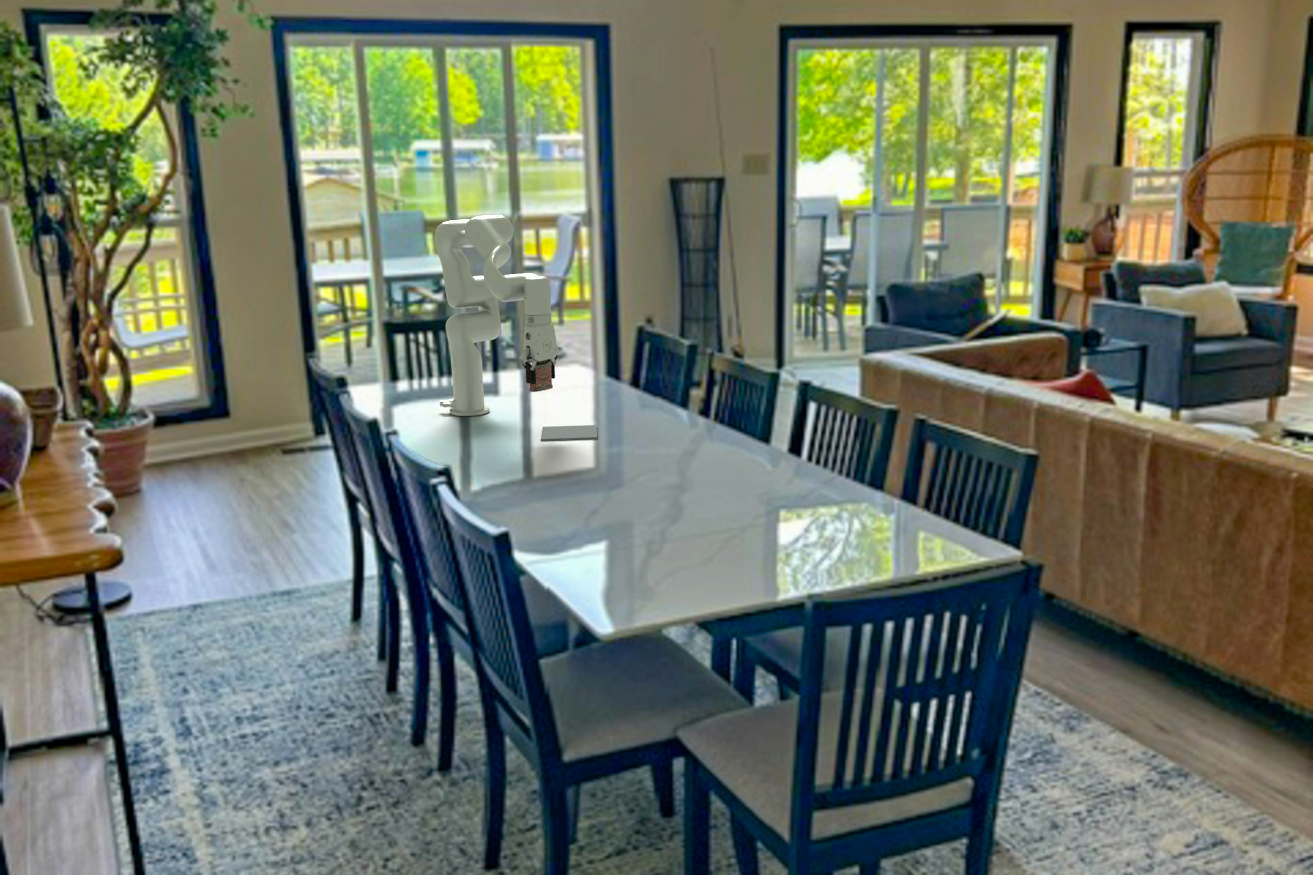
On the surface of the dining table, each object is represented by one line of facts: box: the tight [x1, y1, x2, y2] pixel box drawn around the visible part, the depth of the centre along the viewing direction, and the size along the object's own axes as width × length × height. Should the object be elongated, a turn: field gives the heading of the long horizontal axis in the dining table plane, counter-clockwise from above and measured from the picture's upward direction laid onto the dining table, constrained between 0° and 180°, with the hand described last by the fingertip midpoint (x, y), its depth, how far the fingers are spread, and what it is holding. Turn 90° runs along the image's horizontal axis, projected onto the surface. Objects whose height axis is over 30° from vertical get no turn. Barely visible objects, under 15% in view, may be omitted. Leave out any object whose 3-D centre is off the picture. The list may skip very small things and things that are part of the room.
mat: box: [540, 424, 598, 442], centre depth 329 cm, size 16×15×1 cm
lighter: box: [528, 357, 554, 393], centre depth 324 cm, size 8×3×10 cm, turn 138°
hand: (540, 380), depth 325 cm, fingers closed on lighter, 8 cm apart
